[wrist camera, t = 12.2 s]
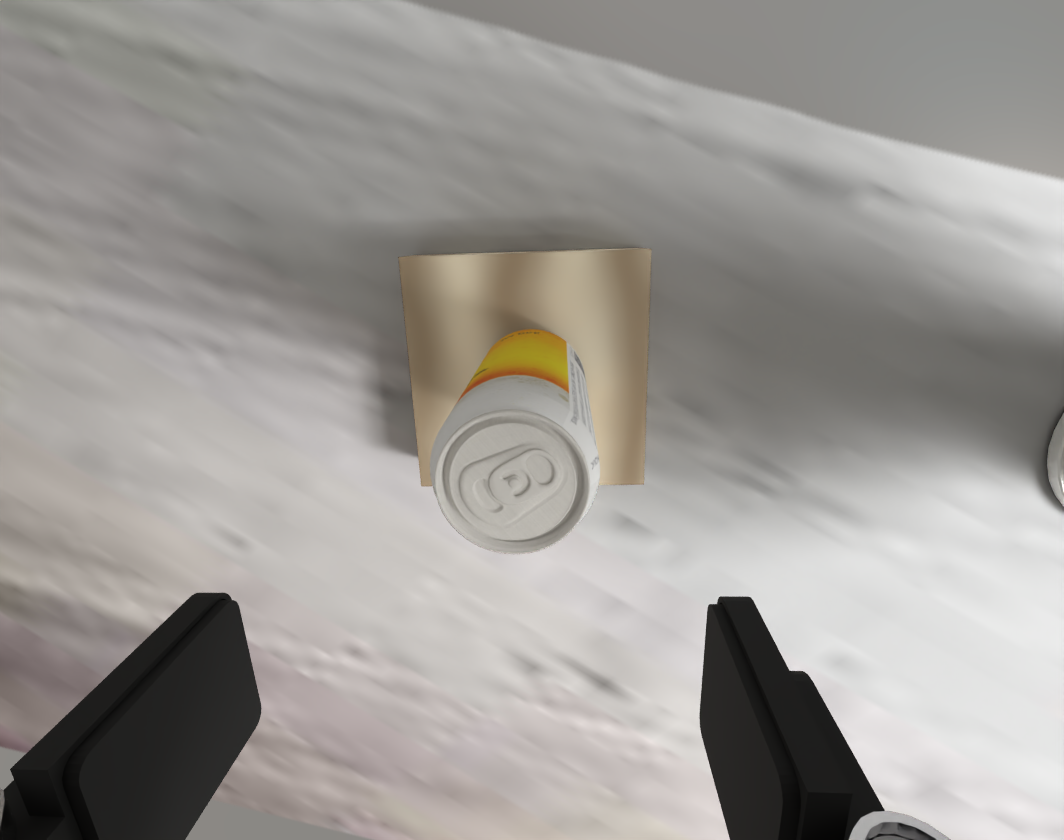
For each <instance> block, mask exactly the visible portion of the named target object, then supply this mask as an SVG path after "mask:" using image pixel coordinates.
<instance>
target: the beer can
mask: <svg viewBox="0 0 1064 840" xmlns="http://www.w3.org/2000/svg"><path fill="white" fill-rule="evenodd" d="M430 477H431V482H432V486H433V489H434V492H435V495H436V497H437V500H438V503H439V506H440V508H441V510H442V512H443V514H444V516H445V517H446V519H447V521H448V522H449V523H450V524H451V526H452V527H453V528H454V529H455V530H456V531H457V532H458V533H459V534H460V535H462V536H463V537H464V538H466V539H467V540H469V541H470V542H472V543H473V544H475V545H477V546H479V547H482V548H484V549H487V550H490V551H494V552H498V553H504V554H526V553H532V552H536V551H540V550H542V549H545V548H548V547H550V546H552V545H554V544H556V543H557V542H559V541H560V540H562V539H563V538H564V537H565V536H567V535H568V534H569V533H570V532H571V531H572V530H573V529H574V528H575V526H576V525H577V524H578V523H579V522H580V521H581V520H582V519H583V517H584V516H585V515H586V513H587V512H588V511H589V509H590V507H591V505H592V504H593V501H594V499H595V497H596V494H597V490H598V487H599V480H600V462H599V455H598V449H597V443H596V438H595V432H594V426H593V420H592V414H591V408H590V402H589V396H588V391H587V385H586V379H585V373H584V368H583V365H582V362H581V360H580V358H579V356H578V354H577V353H576V351H575V350H574V349H573V348H572V346H571V345H570V344H568V343H567V342H566V341H565V340H564V339H562V338H561V337H559V336H557V335H555V334H553V333H551V332H548V331H544V330H538V329H525V330H519V331H516V332H513V333H511V334H508V335H506V336H505V337H503V338H501V339H500V340H499V341H498V342H496V343H495V344H494V345H493V346H492V348H491V349H490V350H489V351H488V353H487V355H486V356H485V358H484V359H483V361H482V363H481V364H480V366H479V368H478V369H477V371H476V372H475V374H474V376H473V377H472V379H471V380H470V382H469V384H468V385H467V387H466V388H465V390H464V392H463V393H462V395H461V397H460V398H459V400H458V401H457V403H456V405H455V406H454V408H453V409H452V411H451V413H450V414H449V416H448V417H447V419H446V421H445V422H444V424H443V426H442V427H441V429H440V430H439V432H438V434H437V436H436V439H435V441H434V444H433V447H432V451H431V457H430Z"/></svg>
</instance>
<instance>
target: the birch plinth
mask: <svg viewBox="0 0 1064 840" xmlns="http://www.w3.org/2000/svg"><path fill="white" fill-rule="evenodd" d="M398 259H399V268H400V278H401V288H402V298H403V308H404V318H405V328H406V338H407V348H408V358H409V368H410V378H411V388H412V398H413V408H414V418H415V428H416V438H417V448H418V458H419V468H420V478H421V486H432V482H431V477H430V457H431V451H432V447H433V444H434V441H435V439H436V436H437V434H438V432H439V430H440V429H441V427H442V426H443V424H444V422H445V421H446V419H447V417H448V416H449V414H450V413H451V411H452V409H453V408H454V406H455V405H456V403H457V401H458V400H459V398H460V397H461V395H462V393H463V392H464V390H465V388H466V387H467V385H468V384H469V382H470V380H471V379H472V377H473V376H474V374H475V372H476V371H477V369H478V368H479V366H480V364H481V363H482V361H483V359H484V358H485V356H486V355H487V353H488V351H489V350H490V349H491V348H492V346H493V345H494V344H495V343H496V342H498V341H499V340H500V339H501V338H503V337H505V336H506V335H508V334H511V333H513V332H516V331H519V330H525V329H538V330H544V331H548V332H551V333H553V334H555V335H557V336H559V337H561V338H562V339H564V340H565V341H566V342H567V343H568V344H570V345H571V346H572V348H573V349H574V350H575V351H576V353H577V354H578V356H579V358H580V360H581V362H582V365H583V368H584V373H585V379H586V385H587V391H588V396H589V402H590V408H591V414H592V420H593V426H594V432H595V438H596V443H597V449H598V455H599V462H600V480H599V485H637V484H644V464H645V433H646V402H647V371H648V340H649V309H650V277H651V249H647V248H621V249H589V250H558V251H526V252H495V253H464V254H432V255H412V256H403V257H398Z"/></svg>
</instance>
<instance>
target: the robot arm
mask: <svg viewBox="0 0 1064 840" xmlns="http://www.w3.org/2000/svg"><path fill="white" fill-rule="evenodd" d="M1047 469H1048V477H1049V482H1050V484H1051V487H1052V489H1053V492H1054V494H1055V496H1056V497H1057V498H1058V500H1059V501H1060V503H1061V504H1062V505H1063V507H1064V413H1063V415H1062V417H1061V418H1060V420H1059V422H1058V424H1057V426H1056V428H1055V430H1054V432H1053V436H1052V439H1051V442H1050V445H1049V449H1048V458H1047ZM260 715H261V703H260V698H259V694H258V689H257V685H256V680H255V676H254V671H253V667H252V662H251V658H250V653H249V649H248V645H247V640H246V636H245V631H244V627H243V622H242V618H241V613H240V609H239V605H238V603H237V602H236V601H233V600H232V599H231V597H230V596H229V595H228V594H226V593H196V594H194V595H192V596H191V597H190V598H189V599H188V600H187V601H186V602H185V603H184V604H182V605H181V606H180V607H179V608H178V609H177V610H176V611H175V612H174V613H173V614H172V615H171V616H170V617H169V618H168V619H167V620H166V621H165V622H164V623H163V624H162V625H160V626H159V627H158V628H157V629H156V630H155V631H154V632H153V633H152V634H151V635H150V636H149V637H148V638H147V639H146V640H145V641H144V642H143V643H142V644H141V645H140V646H139V647H137V648H136V649H135V650H134V651H133V652H132V653H131V654H130V655H129V656H128V657H127V658H126V659H125V660H124V661H123V662H122V663H121V664H120V665H119V666H118V667H117V668H115V669H114V670H113V671H112V672H111V673H110V674H109V675H108V676H107V677H106V678H105V679H104V680H103V681H102V682H101V683H100V684H99V685H98V686H97V687H96V688H95V689H94V690H92V691H91V692H90V693H89V694H88V695H87V696H86V697H85V698H84V699H83V700H82V701H81V702H80V703H79V704H78V705H77V706H76V707H75V708H74V709H73V710H72V711H70V712H69V713H68V714H67V715H66V716H65V717H64V718H63V719H62V720H61V721H60V722H59V723H58V724H57V725H56V726H55V727H54V728H53V729H52V730H51V731H50V732H48V733H47V734H46V735H45V736H44V737H43V738H42V739H41V740H40V741H39V742H38V743H37V744H36V745H35V746H34V747H33V748H32V749H31V750H30V751H29V752H28V753H27V754H25V755H24V756H23V757H22V758H21V759H20V760H19V761H18V762H17V763H16V764H15V765H14V766H13V767H12V768H11V769H10V770H11V772H12V775H13V777H14V781H12V782H11V783H10V784H9V785H8V786H7V787H6V788H5V789H4V790H2V789H1V788H0V840H185V839H186V837H187V836H188V834H189V832H190V831H191V829H192V828H193V826H194V825H195V823H196V821H197V820H198V818H199V817H200V815H201V813H202V812H203V810H204V809H205V807H206V806H207V804H208V802H209V801H210V799H211V798H212V796H213V795H214V793H215V791H216V790H217V788H218V787H219V785H220V783H221V782H222V780H223V779H224V777H225V776H226V774H227V772H228V771H229V769H230V768H231V766H232V765H233V763H234V761H235V760H236V758H237V757H238V755H239V753H240V752H241V750H242V749H243V747H244V746H245V744H246V742H247V741H248V739H249V738H250V736H251V735H252V733H253V731H254V730H255V728H256V726H257V725H258V722H259V719H260ZM700 728H701V734H702V738H703V742H704V746H705V749H706V753H707V757H708V760H709V764H710V768H711V771H712V775H713V779H714V782H715V786H716V790H717V793H718V797H719V801H720V804H721V808H722V812H723V815H724V819H725V822H726V826H727V830H728V833H729V837H730V840H950V839H949V838H948V837H947V836H945V835H944V834H942V833H941V832H939V831H938V830H936V829H935V828H933V827H932V826H930V825H929V824H927V823H925V822H922V821H920V820H918V819H916V818H913V817H911V816H909V815H905V814H901V813H896V812H892V811H885V810H884V808H883V807H882V805H881V803H880V801H879V799H878V798H877V796H876V794H875V792H874V790H873V789H872V787H871V785H870V783H869V782H868V780H867V778H866V776H865V774H864V773H863V771H862V769H861V767H860V765H859V764H858V762H857V760H856V758H855V756H854V755H853V753H852V751H851V749H850V747H849V746H848V744H847V742H846V740H845V738H844V737H843V735H842V733H841V731H840V729H839V728H838V726H837V724H836V722H835V721H834V719H833V717H832V715H831V713H830V712H829V710H828V708H827V706H826V704H825V703H824V701H823V699H822V697H821V695H820V694H819V692H818V690H817V688H816V686H815V685H814V683H813V681H812V680H811V678H810V677H809V675H808V674H806V673H805V672H803V671H789V669H788V667H787V665H786V663H785V661H784V659H783V658H782V656H781V654H780V652H779V650H778V648H777V646H776V644H775V642H774V640H773V638H772V636H771V634H770V632H769V630H768V629H767V627H766V625H765V623H764V621H763V619H762V617H761V615H760V613H759V611H758V609H757V607H756V605H755V603H754V601H753V600H752V599H751V598H750V597H719V599H718V602H717V604H710V605H709V606H708V611H707V624H706V637H705V650H704V664H703V677H702V690H701V703H700Z"/></svg>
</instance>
